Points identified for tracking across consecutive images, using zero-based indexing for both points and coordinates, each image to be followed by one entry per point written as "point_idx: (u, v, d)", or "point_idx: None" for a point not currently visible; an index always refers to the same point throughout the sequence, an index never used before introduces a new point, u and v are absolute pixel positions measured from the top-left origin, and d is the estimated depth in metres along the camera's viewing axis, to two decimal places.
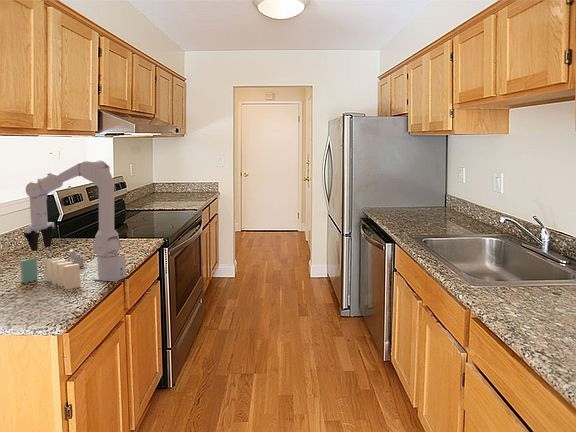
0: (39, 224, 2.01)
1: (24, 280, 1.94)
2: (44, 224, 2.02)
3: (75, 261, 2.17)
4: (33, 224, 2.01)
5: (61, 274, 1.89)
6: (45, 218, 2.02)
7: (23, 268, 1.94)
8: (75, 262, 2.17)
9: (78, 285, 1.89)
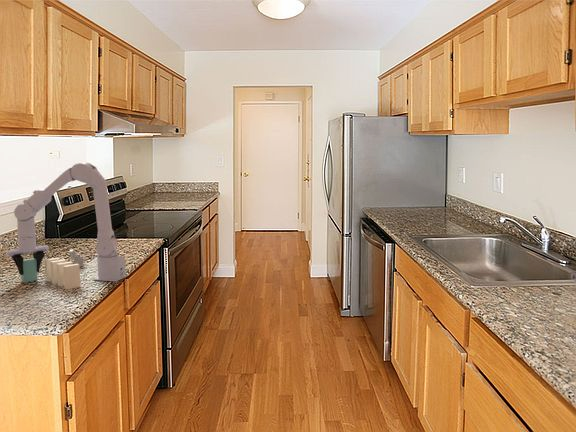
0: (23, 248, 1.92)
1: (24, 280, 1.94)
2: (28, 248, 1.92)
3: (75, 261, 2.17)
4: (19, 247, 1.93)
5: (61, 274, 1.89)
6: (30, 242, 1.92)
7: (23, 268, 1.94)
8: (75, 262, 2.17)
9: (78, 285, 1.89)
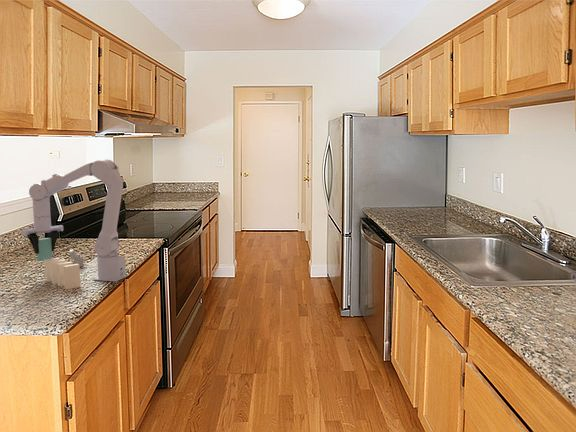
0: (38, 227, 1.95)
1: (39, 259, 1.98)
2: (43, 227, 1.96)
3: (75, 261, 2.17)
4: (34, 227, 1.96)
5: (61, 274, 1.89)
6: (45, 221, 1.96)
7: None
8: (75, 262, 2.17)
9: (78, 285, 1.89)
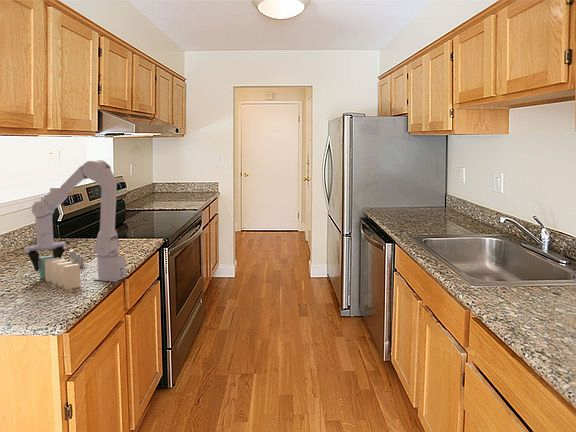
0: (41, 244, 1.97)
1: (42, 277, 1.99)
2: (46, 244, 1.97)
3: (75, 261, 2.17)
4: (37, 244, 1.98)
5: (61, 274, 1.89)
6: (47, 238, 1.97)
7: (41, 265, 1.98)
8: (75, 262, 2.17)
9: (78, 285, 1.89)
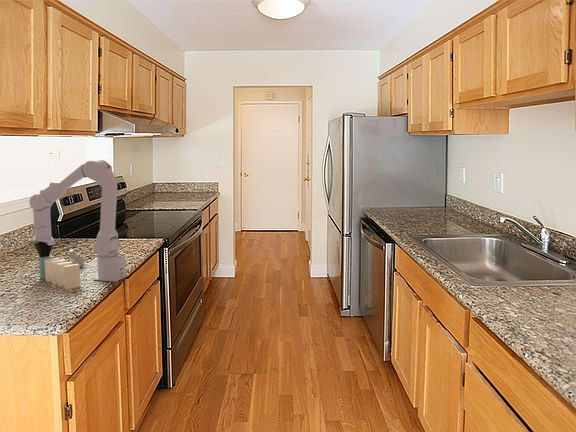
0: (50, 236, 2.00)
1: (42, 277, 1.99)
2: (51, 235, 2.02)
3: (75, 261, 2.17)
4: (45, 237, 1.98)
5: (61, 274, 1.89)
6: None
7: (41, 265, 1.98)
8: (75, 262, 2.17)
9: (78, 285, 1.89)
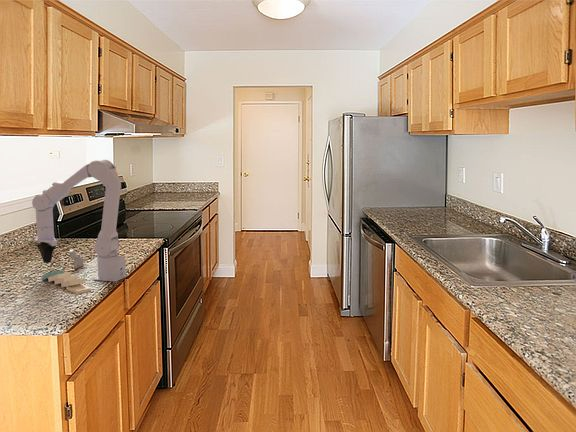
0: (53, 236, 1.99)
1: None
2: None
3: (75, 261, 2.17)
4: (47, 237, 1.97)
5: None
6: None
7: (48, 277, 1.95)
8: (75, 262, 2.17)
9: None
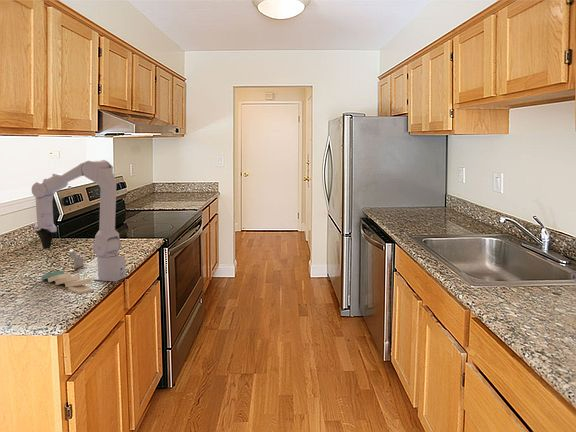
0: (52, 223, 2.04)
1: None
2: (53, 223, 2.06)
3: (75, 261, 2.17)
4: (47, 224, 2.03)
5: (74, 285, 1.86)
6: None
7: (48, 277, 1.95)
8: (75, 262, 2.17)
9: None
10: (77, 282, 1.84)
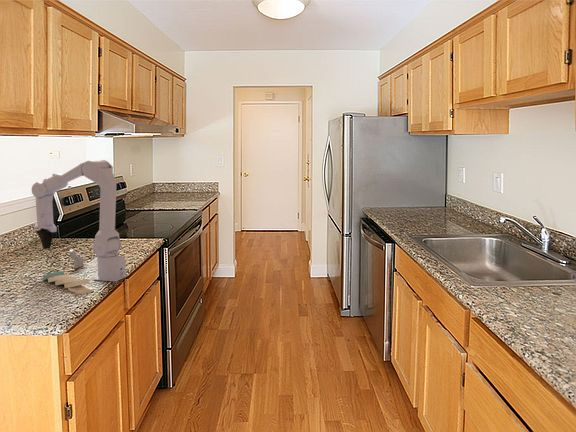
0: (52, 223, 2.04)
1: (44, 279, 1.98)
2: (53, 223, 2.06)
3: (75, 261, 2.17)
4: (47, 224, 2.03)
5: (72, 286, 1.83)
6: None
7: None
8: (75, 262, 2.17)
9: None
10: (73, 283, 1.81)
